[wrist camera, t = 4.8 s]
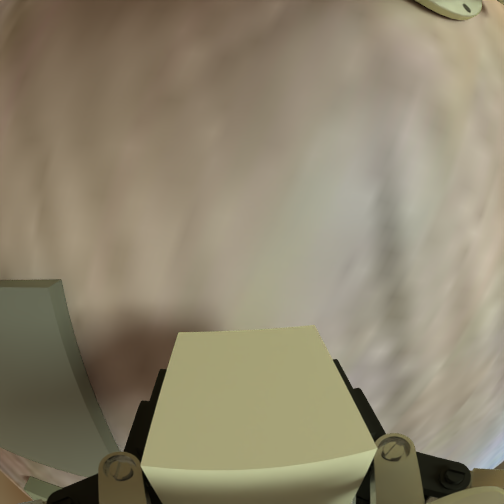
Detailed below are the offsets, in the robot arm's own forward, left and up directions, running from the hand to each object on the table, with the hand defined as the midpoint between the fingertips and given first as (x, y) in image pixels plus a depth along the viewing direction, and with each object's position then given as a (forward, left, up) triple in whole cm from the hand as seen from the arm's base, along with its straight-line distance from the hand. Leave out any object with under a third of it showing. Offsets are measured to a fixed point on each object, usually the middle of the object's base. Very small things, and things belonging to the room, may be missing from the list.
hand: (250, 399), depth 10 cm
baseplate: (+19, +6, -6) cm, 21 cm away
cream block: (0, 0, -1) cm, 1 cm away
